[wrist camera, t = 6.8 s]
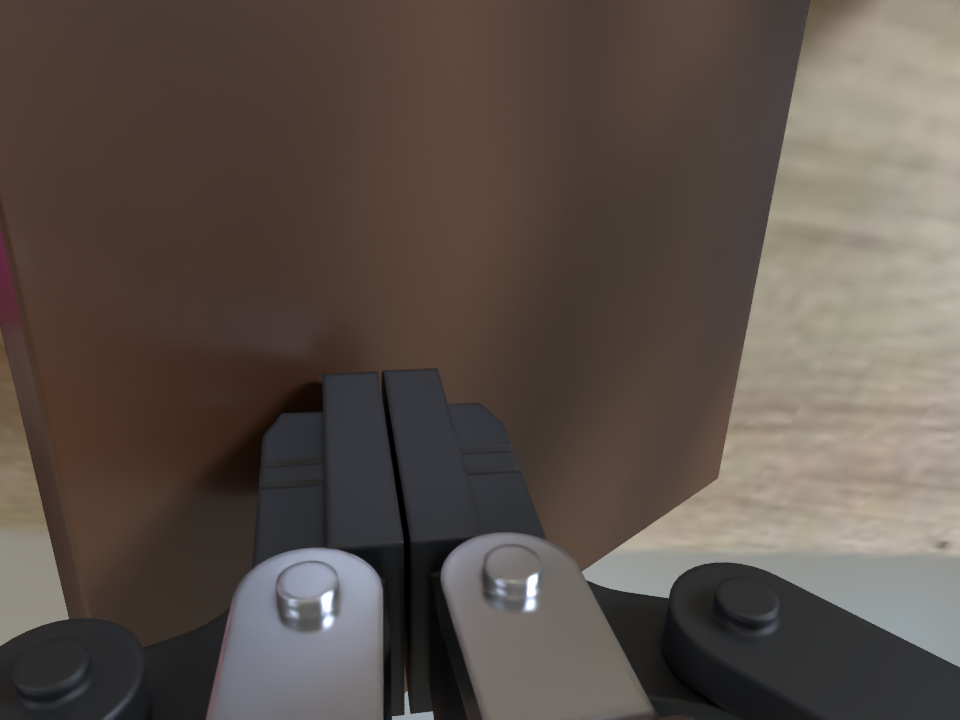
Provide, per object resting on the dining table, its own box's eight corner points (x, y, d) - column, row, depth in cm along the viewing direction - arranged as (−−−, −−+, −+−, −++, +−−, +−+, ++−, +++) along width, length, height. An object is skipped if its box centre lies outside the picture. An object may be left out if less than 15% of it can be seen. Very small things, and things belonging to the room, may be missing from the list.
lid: (117, 831, 13) (144, 873, 12) (-95, -68, 7) (-65, -63, 7) (688, 463, 22) (718, 478, 21) (779, -55, 16) (821, -53, 16)
